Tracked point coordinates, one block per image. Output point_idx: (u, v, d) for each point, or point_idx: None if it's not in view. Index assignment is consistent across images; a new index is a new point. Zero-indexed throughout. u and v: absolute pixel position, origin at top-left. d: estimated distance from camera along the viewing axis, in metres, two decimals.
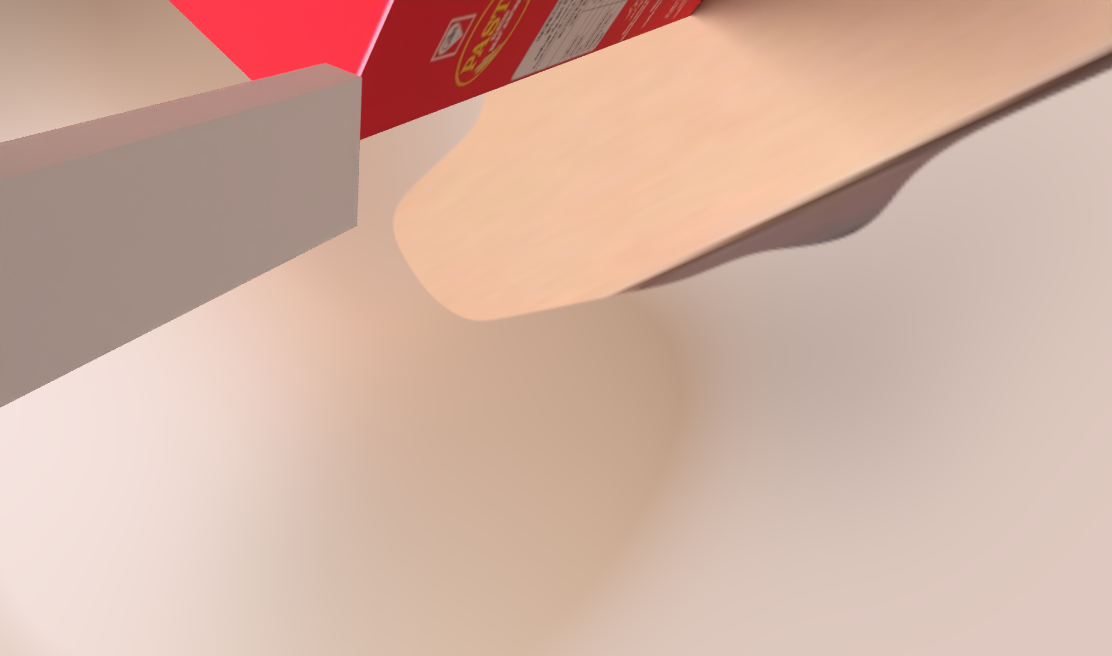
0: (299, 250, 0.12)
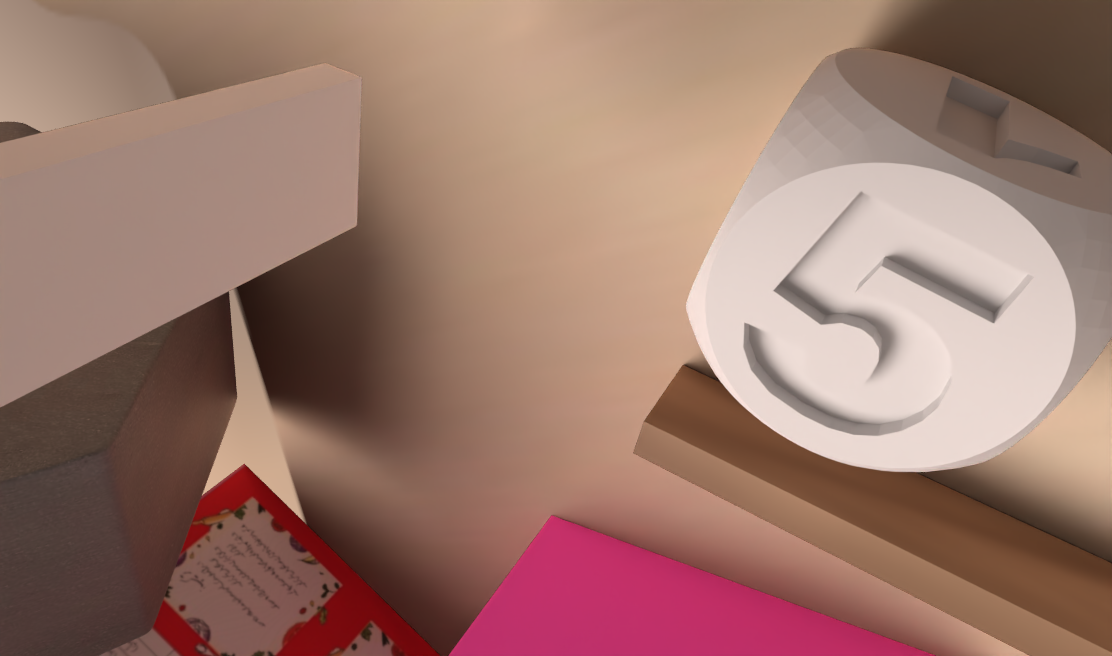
0: (300, 250, 0.12)
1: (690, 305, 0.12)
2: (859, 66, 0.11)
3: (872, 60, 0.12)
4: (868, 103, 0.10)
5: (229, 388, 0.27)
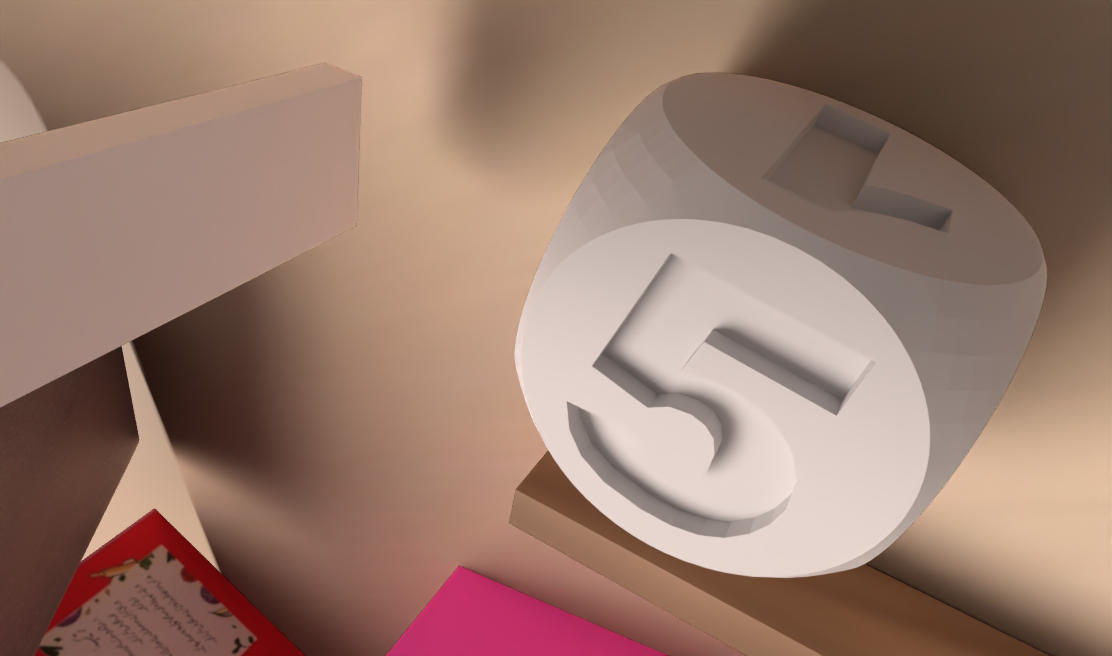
0: (300, 250, 0.12)
1: (518, 375, 0.10)
2: (697, 95, 0.09)
3: (720, 87, 0.10)
4: (682, 144, 0.08)
5: (125, 432, 0.25)
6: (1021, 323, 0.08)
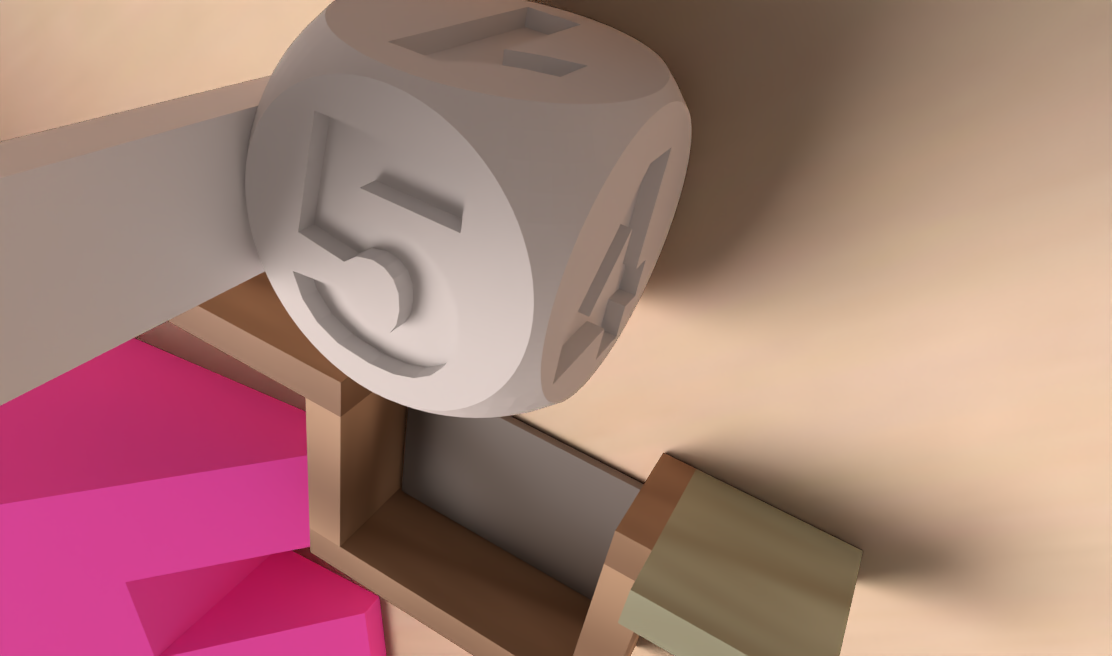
0: None
1: None
2: None
3: None
4: (325, 22, 0.09)
5: None
6: (606, 138, 0.09)
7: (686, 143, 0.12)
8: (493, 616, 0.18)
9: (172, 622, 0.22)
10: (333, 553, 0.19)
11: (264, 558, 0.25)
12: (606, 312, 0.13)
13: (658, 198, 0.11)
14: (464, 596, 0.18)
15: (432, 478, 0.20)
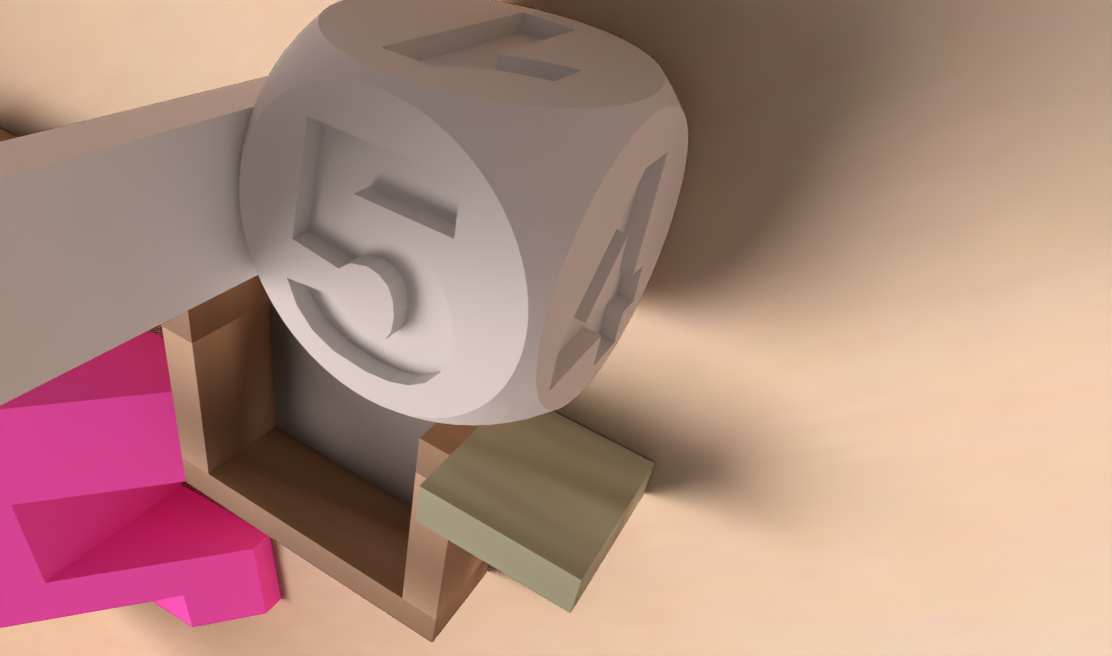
0: None
1: None
2: (375, 4, 0.11)
3: (410, 0, 0.11)
4: (318, 27, 0.09)
5: None
6: (600, 142, 0.09)
7: (683, 148, 0.11)
8: (346, 538, 0.19)
9: (63, 549, 0.23)
10: (204, 481, 0.20)
11: (163, 496, 0.26)
12: (604, 318, 0.13)
13: (655, 203, 0.11)
14: (321, 520, 0.20)
15: (301, 413, 0.21)
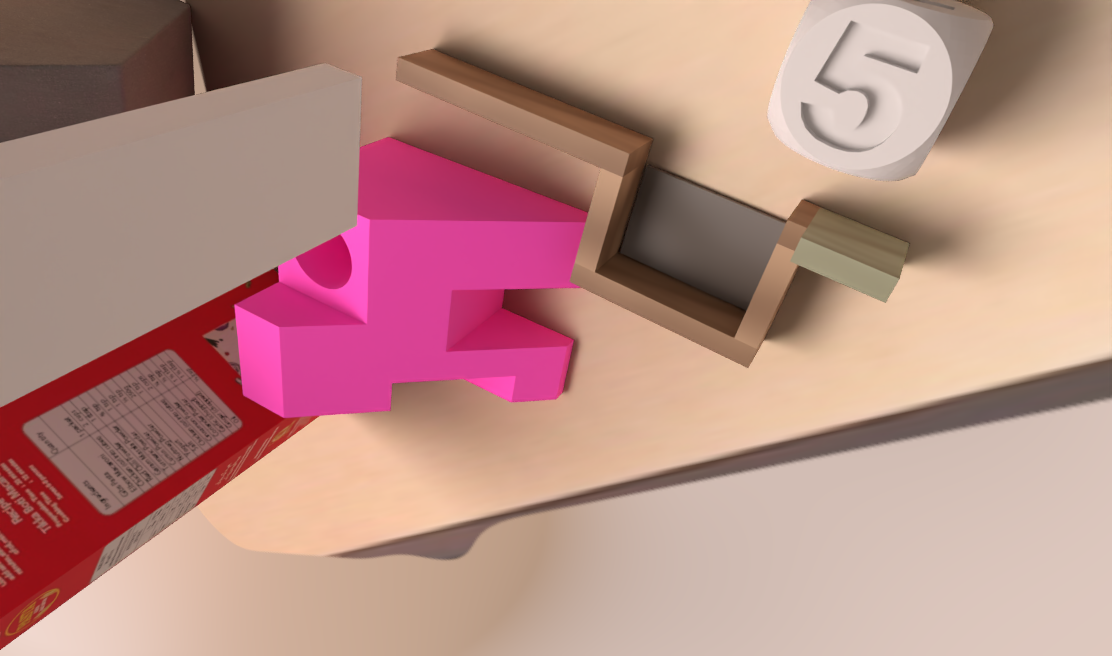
0: (299, 250, 0.12)
1: (771, 105, 0.24)
2: None
3: None
4: None
5: None
6: (982, 34, 0.21)
7: None
8: (688, 309, 0.31)
9: (456, 331, 0.35)
10: (587, 278, 0.32)
11: (494, 312, 0.38)
12: None
13: None
14: (670, 299, 0.32)
15: (645, 239, 0.33)
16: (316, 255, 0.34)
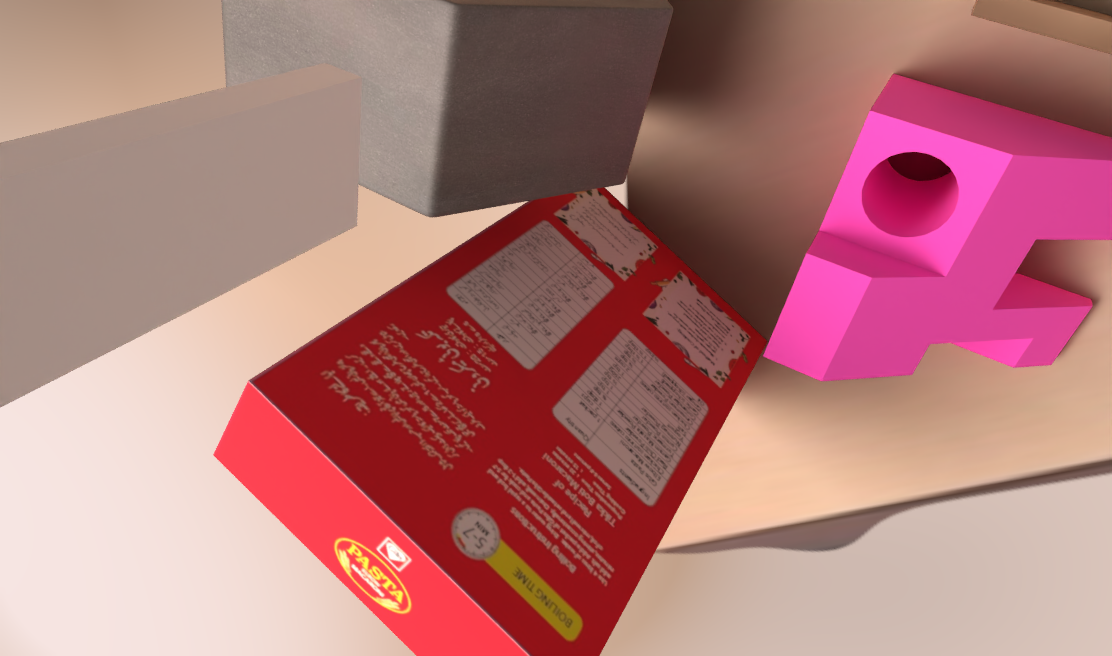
0: (300, 250, 0.12)
1: None
2: None
3: None
4: None
5: None
6: None
7: None
8: None
9: None
10: None
11: None
12: None
13: None
14: None
15: None
16: (867, 200, 0.31)
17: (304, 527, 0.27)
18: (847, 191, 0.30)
